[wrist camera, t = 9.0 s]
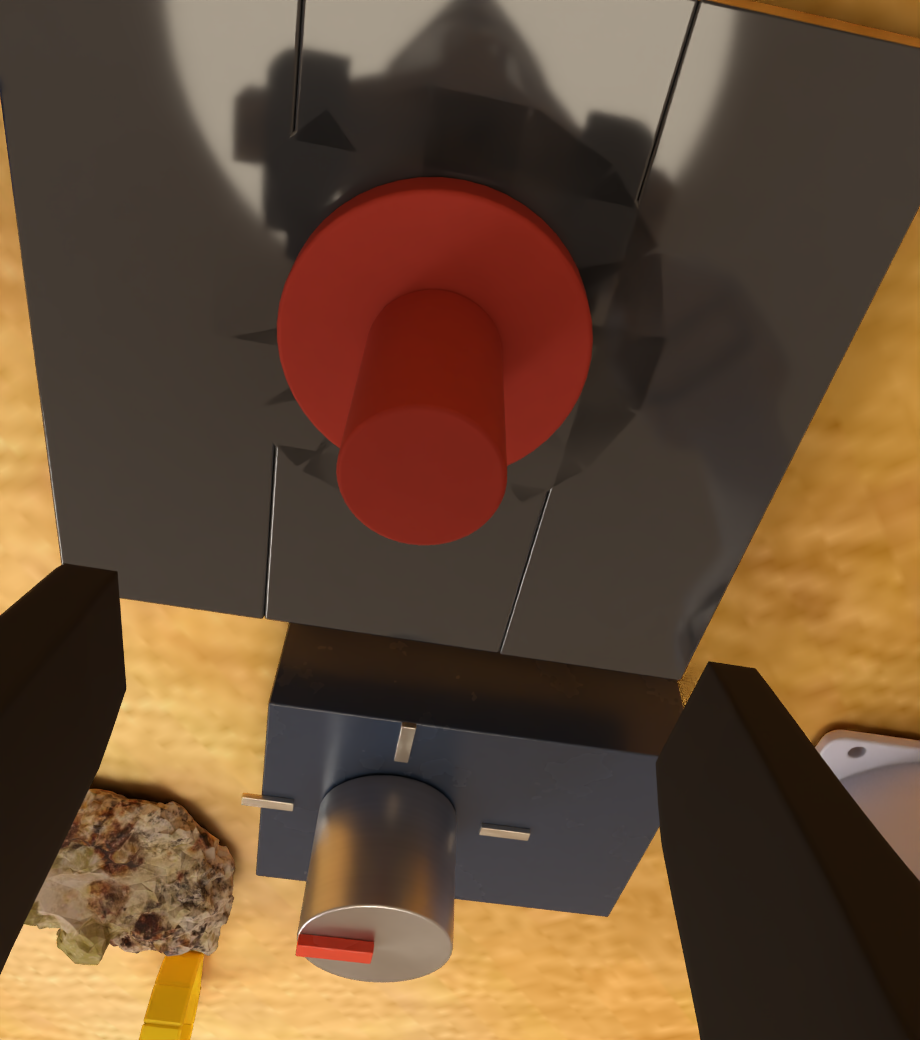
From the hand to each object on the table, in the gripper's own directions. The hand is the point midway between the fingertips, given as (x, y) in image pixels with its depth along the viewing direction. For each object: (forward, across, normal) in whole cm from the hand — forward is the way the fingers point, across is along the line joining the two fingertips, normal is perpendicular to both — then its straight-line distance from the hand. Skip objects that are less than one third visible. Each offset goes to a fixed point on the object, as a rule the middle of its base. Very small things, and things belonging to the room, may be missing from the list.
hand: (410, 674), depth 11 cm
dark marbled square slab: (+10, 0, 0) cm, 10 cm away
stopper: (+9, 0, -1) cm, 9 cm away
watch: (+10, +6, +30) cm, 32 cm away
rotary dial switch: (+10, -3, +13) cm, 16 cm away
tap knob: (+7, -1, +13) cm, 15 cm away
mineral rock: (+10, +9, +21) cm, 25 cm away
